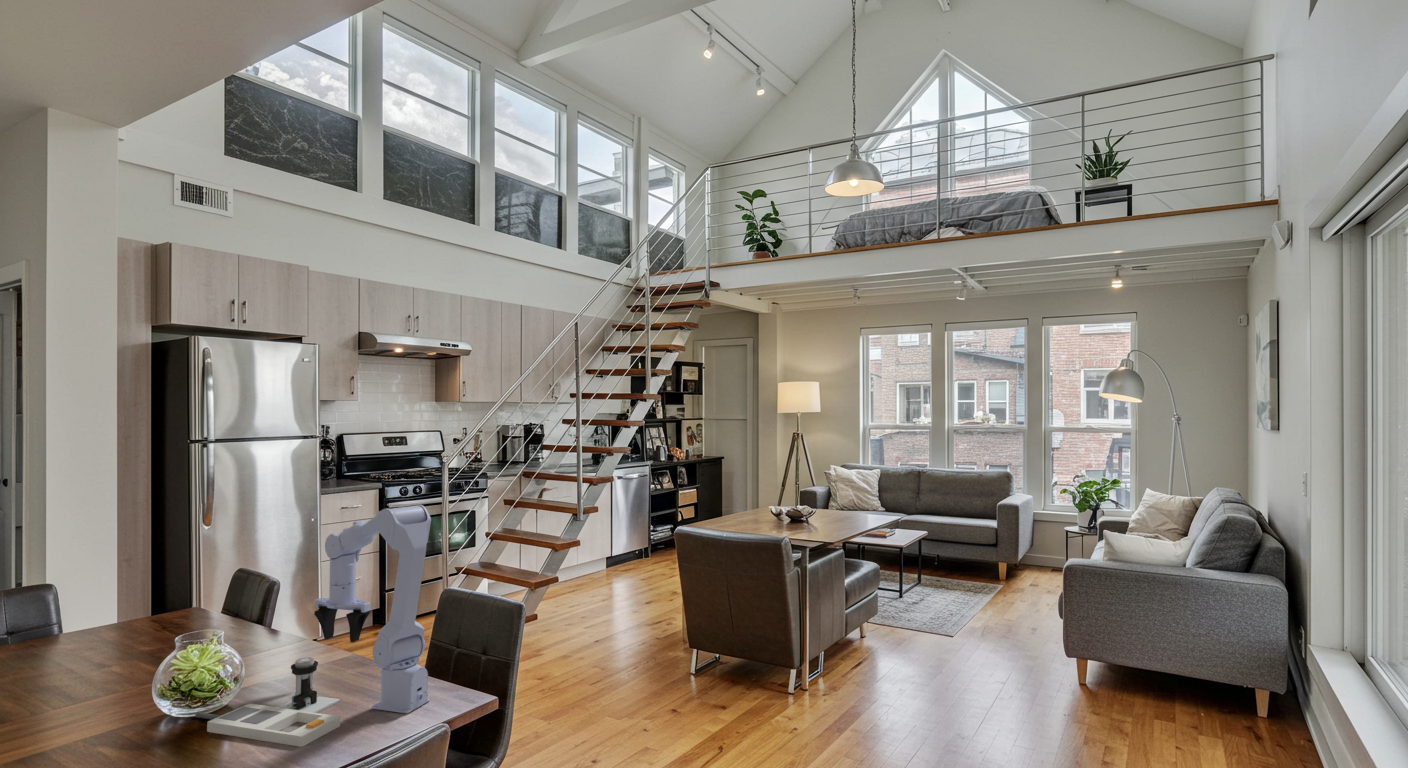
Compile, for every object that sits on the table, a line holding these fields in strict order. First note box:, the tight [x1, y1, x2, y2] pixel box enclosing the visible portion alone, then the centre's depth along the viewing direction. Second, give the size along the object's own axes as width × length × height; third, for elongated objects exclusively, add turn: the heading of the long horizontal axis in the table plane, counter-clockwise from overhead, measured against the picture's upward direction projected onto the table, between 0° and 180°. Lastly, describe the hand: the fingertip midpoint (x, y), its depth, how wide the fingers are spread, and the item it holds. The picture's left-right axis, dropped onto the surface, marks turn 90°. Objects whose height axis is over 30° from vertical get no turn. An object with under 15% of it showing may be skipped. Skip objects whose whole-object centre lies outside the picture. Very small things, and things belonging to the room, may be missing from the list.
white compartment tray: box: [194, 703, 341, 748], centre depth 156 cm, size 33×10×3 cm, turn 74°
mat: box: [277, 695, 341, 713], centre depth 166 cm, size 10×10×1 cm
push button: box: [287, 656, 319, 710], centre depth 165 cm, size 7×5×10 cm
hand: (341, 639), depth 180 cm, fingers open, 7 cm apart
